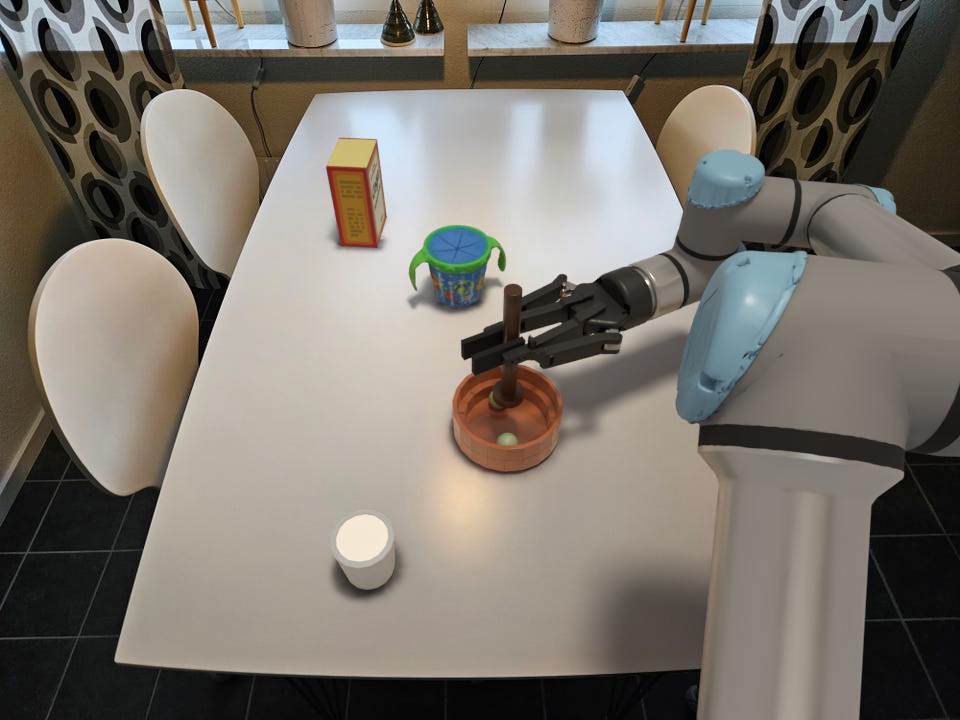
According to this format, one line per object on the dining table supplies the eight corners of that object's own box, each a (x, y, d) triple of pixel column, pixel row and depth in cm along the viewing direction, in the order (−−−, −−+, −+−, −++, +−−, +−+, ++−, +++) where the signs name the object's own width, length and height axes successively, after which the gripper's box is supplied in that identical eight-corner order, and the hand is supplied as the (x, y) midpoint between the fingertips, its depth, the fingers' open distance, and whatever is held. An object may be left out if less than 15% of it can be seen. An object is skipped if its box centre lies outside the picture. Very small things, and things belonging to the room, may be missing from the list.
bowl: (528, 491, 81) (530, 467, 77) (433, 444, 86) (431, 419, 82) (576, 414, 89) (580, 388, 85) (487, 375, 94) (487, 349, 90)
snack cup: (496, 267, 111) (498, 217, 103) (513, 308, 104) (515, 257, 96) (406, 281, 108) (401, 231, 101) (417, 323, 101) (412, 273, 94)
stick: (514, 413, 80) (520, 306, 67) (486, 400, 82) (487, 294, 69) (529, 392, 83) (538, 285, 70) (502, 380, 84) (505, 273, 71)
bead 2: (511, 462, 83) (511, 449, 81) (492, 453, 84) (492, 440, 82) (521, 446, 85) (522, 434, 83) (502, 437, 86) (503, 425, 84)
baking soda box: (352, 215, 121) (338, 135, 109) (386, 216, 121) (376, 137, 109) (341, 246, 115) (325, 165, 103) (377, 247, 114) (365, 166, 103)
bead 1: (502, 415, 88) (503, 403, 86) (484, 407, 89) (485, 394, 87) (512, 402, 90) (513, 389, 88) (495, 394, 91) (495, 381, 89)
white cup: (375, 527, 77) (367, 497, 72) (412, 566, 74) (407, 537, 69) (328, 565, 74) (316, 536, 69) (365, 608, 71) (355, 580, 66)
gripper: (668, 353, 79) (498, 425, 72) (597, 282, 88) (441, 339, 81) (682, 308, 73) (500, 381, 66) (605, 237, 82) (438, 293, 75)
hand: (468, 357), depth 73 cm, fingers closed on stick, 2 cm apart
